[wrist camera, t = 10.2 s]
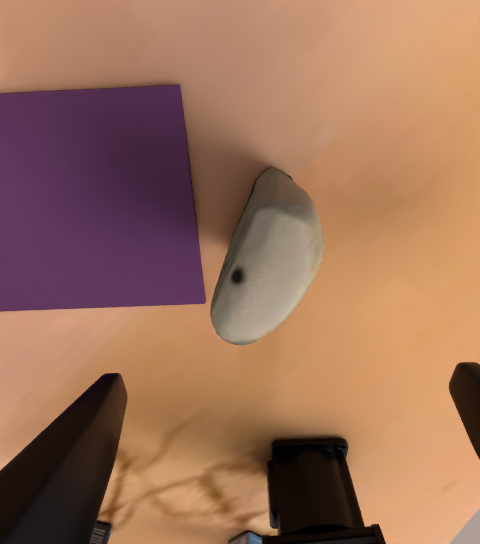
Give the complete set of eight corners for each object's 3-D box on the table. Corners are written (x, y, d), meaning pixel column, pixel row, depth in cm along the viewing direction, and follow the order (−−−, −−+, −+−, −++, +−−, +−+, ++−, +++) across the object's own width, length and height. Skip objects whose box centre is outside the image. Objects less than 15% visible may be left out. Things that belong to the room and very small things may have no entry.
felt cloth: (180, 84, 15) (179, 84, 15) (205, 301, 21) (205, 303, 21) (-207, 103, 15) (-215, 104, 15) (-72, 311, 21) (-75, 314, 21)
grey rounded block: (202, 166, 17) (176, 228, 10) (304, 145, 16) (353, 194, 9) (226, 263, 20) (219, 363, 13) (314, 247, 19) (357, 343, 12)
